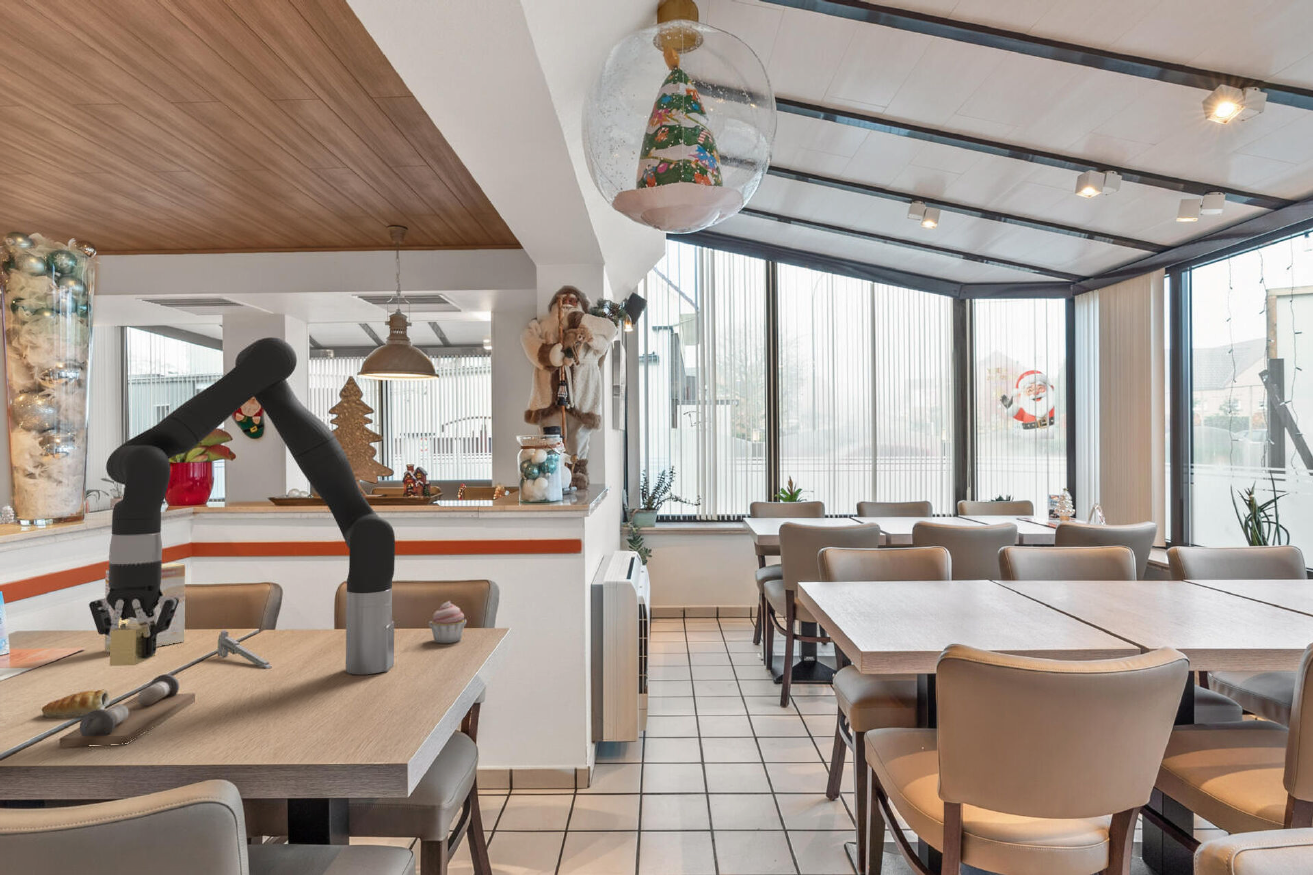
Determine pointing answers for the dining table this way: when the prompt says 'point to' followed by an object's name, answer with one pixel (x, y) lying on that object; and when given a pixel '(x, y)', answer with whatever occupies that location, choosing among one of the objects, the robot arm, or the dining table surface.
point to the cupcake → (447, 624)
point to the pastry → (77, 704)
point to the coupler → (126, 645)
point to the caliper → (238, 650)
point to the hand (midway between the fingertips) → (133, 657)
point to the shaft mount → (130, 715)
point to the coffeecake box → (170, 588)
